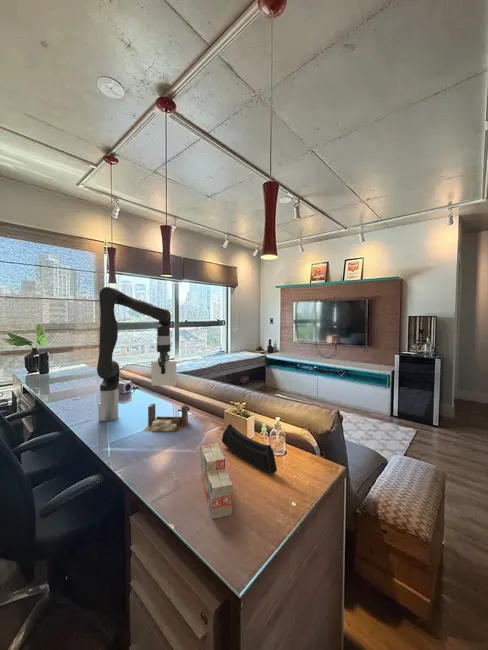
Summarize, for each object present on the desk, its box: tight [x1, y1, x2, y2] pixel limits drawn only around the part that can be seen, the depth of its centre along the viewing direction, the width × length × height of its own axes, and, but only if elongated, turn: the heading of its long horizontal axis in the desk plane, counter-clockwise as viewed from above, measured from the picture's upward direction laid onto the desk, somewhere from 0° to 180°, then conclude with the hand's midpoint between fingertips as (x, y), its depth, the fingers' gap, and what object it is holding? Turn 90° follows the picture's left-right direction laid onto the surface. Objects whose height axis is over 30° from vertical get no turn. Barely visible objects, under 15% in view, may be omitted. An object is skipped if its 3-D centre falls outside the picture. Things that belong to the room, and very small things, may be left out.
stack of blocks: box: [200, 442, 233, 520], centre depth 88 cm, size 21×6×12 cm, turn 17°
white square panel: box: [150, 360, 177, 387], centre depth 155 cm, size 14×2×14 cm, turn 87°
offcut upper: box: [152, 420, 172, 427], centre depth 138 cm, size 9×4×2 cm, turn 88°
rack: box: [142, 403, 189, 433], centre depth 141 cm, size 20×14×11 cm
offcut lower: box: [150, 424, 177, 432], centre depth 138 cm, size 12×4×2 cm, turn 88°
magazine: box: [221, 423, 278, 475], centre depth 109 cm, size 17×3×30 cm
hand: (163, 373), depth 155 cm, fingers closed on white square panel, 2 cm apart
